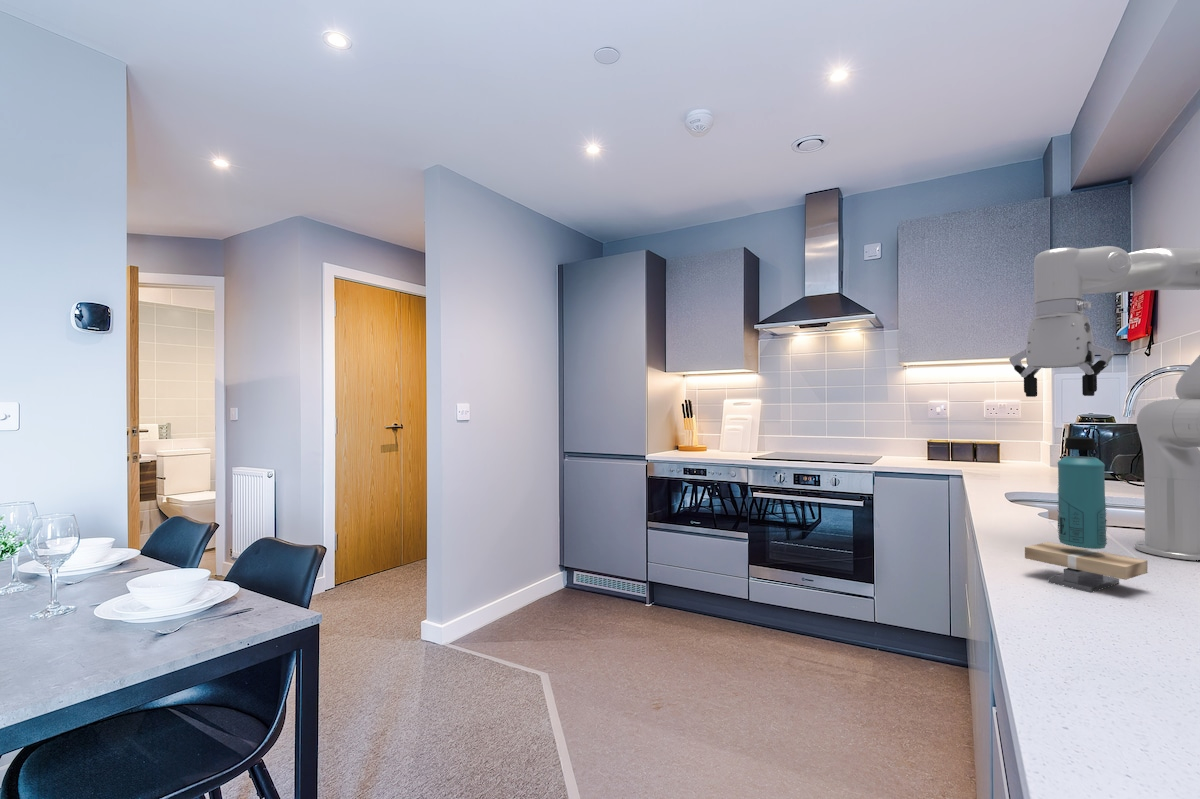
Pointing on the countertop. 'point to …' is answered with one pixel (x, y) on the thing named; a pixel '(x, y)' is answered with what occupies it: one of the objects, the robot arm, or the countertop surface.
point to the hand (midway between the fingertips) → (1058, 396)
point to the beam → (1087, 560)
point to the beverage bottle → (1081, 497)
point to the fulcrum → (1083, 580)
